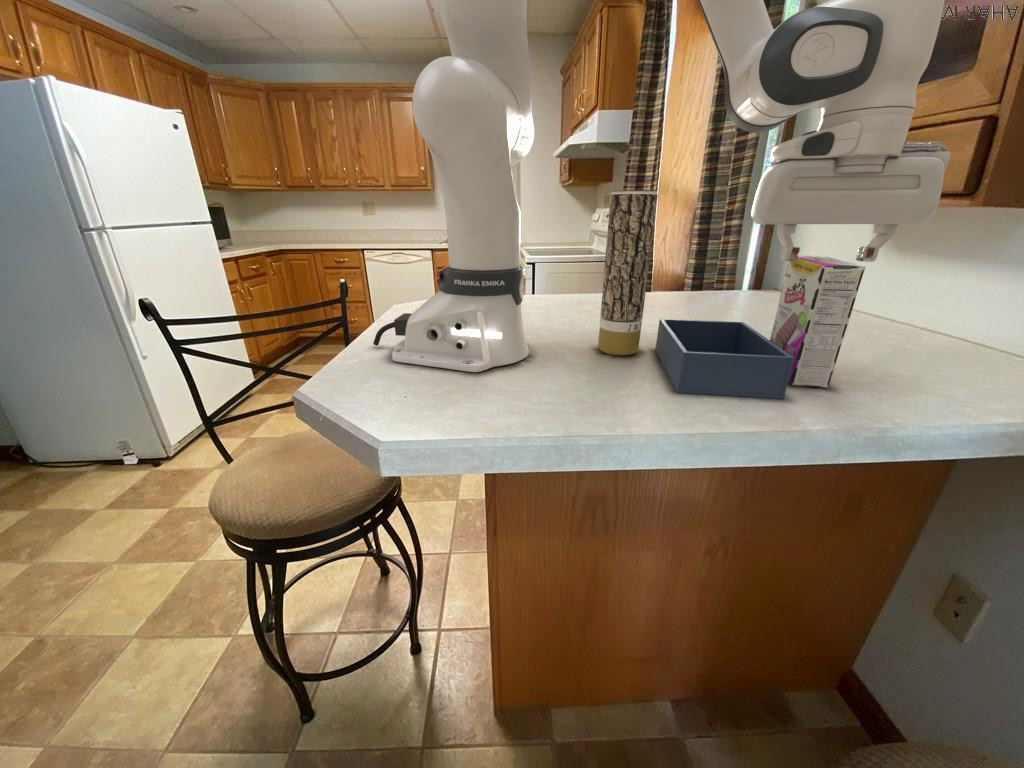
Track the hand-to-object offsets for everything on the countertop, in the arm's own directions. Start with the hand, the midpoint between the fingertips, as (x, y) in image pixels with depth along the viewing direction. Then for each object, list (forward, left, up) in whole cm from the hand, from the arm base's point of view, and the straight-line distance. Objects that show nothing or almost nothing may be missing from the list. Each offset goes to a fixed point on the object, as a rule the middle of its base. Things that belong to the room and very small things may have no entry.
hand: (826, 261), depth 57 cm
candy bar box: (0, 0, -16) cm, 16 cm away
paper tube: (-25, +7, -16) cm, 31 cm away
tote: (-12, -1, -16) cm, 20 cm away
